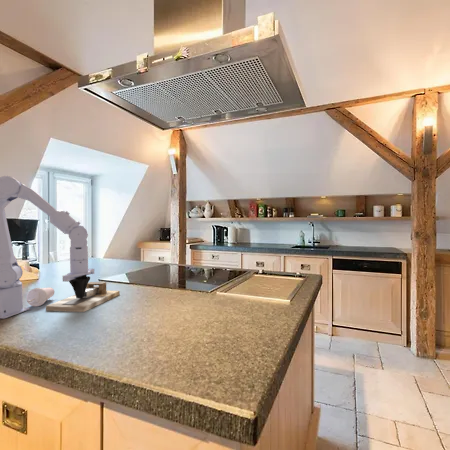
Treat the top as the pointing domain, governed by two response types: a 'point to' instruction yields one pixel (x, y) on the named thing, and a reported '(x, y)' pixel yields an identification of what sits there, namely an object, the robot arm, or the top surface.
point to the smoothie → (39, 296)
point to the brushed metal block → (91, 291)
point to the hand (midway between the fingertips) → (80, 297)
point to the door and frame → (84, 300)
